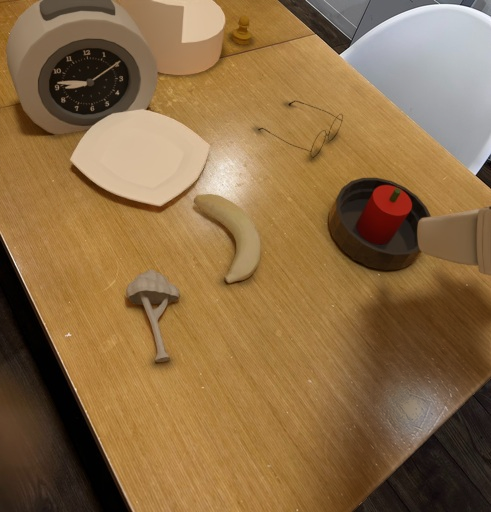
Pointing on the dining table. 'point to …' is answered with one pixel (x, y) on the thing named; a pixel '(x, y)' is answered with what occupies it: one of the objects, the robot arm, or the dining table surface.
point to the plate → (141, 156)
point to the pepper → (383, 214)
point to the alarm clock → (79, 63)
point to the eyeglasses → (319, 133)
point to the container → (180, 32)
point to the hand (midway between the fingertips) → (456, 218)
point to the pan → (350, 241)
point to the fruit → (235, 234)
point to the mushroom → (153, 301)
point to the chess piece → (242, 32)
